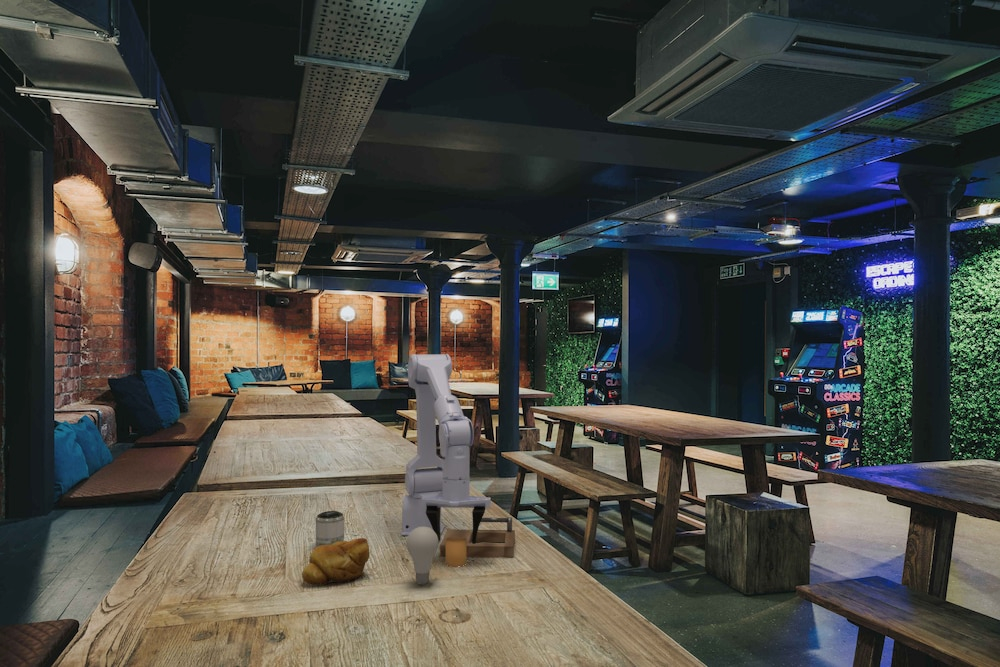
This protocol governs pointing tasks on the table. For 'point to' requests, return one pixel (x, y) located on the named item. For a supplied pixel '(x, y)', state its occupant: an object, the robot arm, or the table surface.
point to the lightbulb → (422, 551)
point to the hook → (508, 520)
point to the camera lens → (329, 528)
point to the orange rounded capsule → (455, 551)
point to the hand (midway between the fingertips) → (456, 542)
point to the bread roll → (337, 562)
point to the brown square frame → (483, 548)
